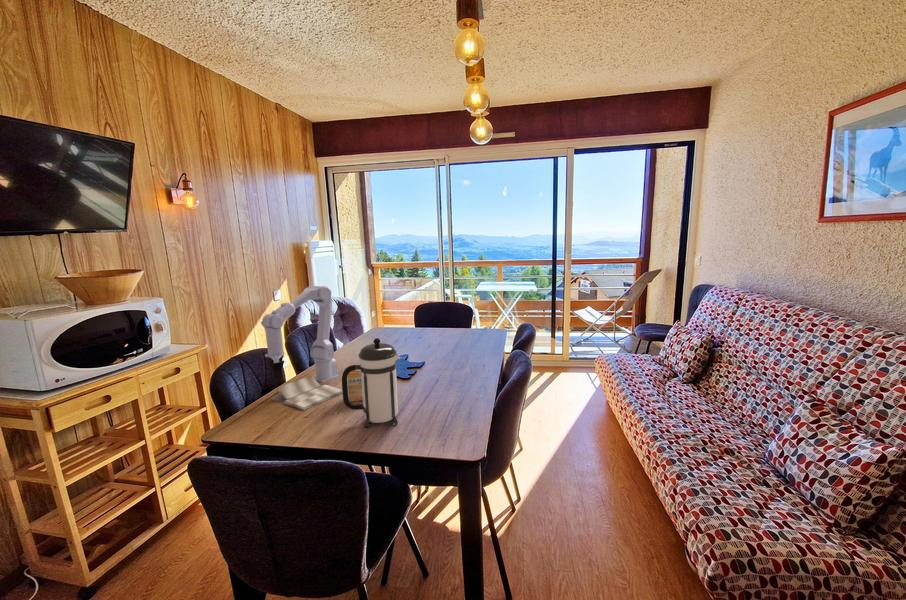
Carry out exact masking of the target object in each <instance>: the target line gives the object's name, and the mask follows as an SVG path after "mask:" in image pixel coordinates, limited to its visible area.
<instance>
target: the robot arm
mask: <svg viewBox="0 0 906 600" xmlns="http://www.w3.org/2000/svg"><path fill="white" fill-rule="evenodd" d="M309 300H310V301H313V302H314V303H316V304H317V305H318V306H319V307H318V310H319V311H318V319H317V320H318V321H317V332H316V339H315V340H314V342H313V343H312V346H311V349H310V352H309V353H310V356H311V358H312V359H313V361H314V369H315V370H314V371H315V377H313V378H314V379H315V380H316V381H317V382H321V383H324V382H327V381H329V380H332V379H334V378H337V377H339V376H340V375H339V373H338V363H337V360H336V359H335V358H334V356H335V351H334V344H333V343H332V342H331V341H330V333H331V320H332V311H333V310H332V309H333V308H332V307H333V301H332V290H331V289H330V288H329V287H328V286H327V285H308V286H307V287H305V288H304V289H303V291H302V292H301V293H300V294H299V295H297V296H296V297H295V298H294V299H293V300H292V301H290V302H283V303H281V304H280V305H279V307H277V308H276V309H275V310H271V313H267V314H265V315H264V316H263V317H262V319H261V321H260V324H261V326H262V327H263V328H264V331H265V337H266V338H265V339H266V345H267V348H266V349H267V353H265V354H264V357H265V358H269V360H270V361H268V365H269V367H270V368H271V370H272V371H273V375H274V378H275V379H281V378H282V374H283V366H284V364H285V360H284V357H285V352H284V345H283V344H284V343H283V342H284V341H283V335H282V333H283V332H282V327H283V326H284V323H285V322H286V320H288V319H289V318H290V317H292V316H293V315H294V314H295V313H296V309H298V308H299V307H300V306H302V305H304V304H305V303H307V302H308V301H309Z"/></svg>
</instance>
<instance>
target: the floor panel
mask: <svg viewBox="0 0 906 600" xmlns="http://www.w3.org/2000/svg"><path fill="white" fill-rule="evenodd" d="M319 385H320V384H319ZM341 395H343V392H342V388H338V387H335V386H332V385H327V384H323V385H322V384H321V385H320V387H318V388H315V389H313V390H310V391H308V392H305V393H303V394H300V395H298V396H295V397H293V398H290V399H288V400H285V399H284V398H283V396H282V395H281V394H279V395H277V396H274V397H272V398H270V400H271V401H275V402H278V403H281V404H283V405H285V406H288V407H292V408H293V409H297V410H299V411H301V412H305V411H307V410H309V409H310V410H311V409H312V408H314V407H315V406H318V405H320V404H323V403H325V402H328V401H329V400H332V399H333V398H336V397H338V396H341Z"/></svg>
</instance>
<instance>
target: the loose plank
mask: <svg viewBox="0 0 906 600" xmlns="http://www.w3.org/2000/svg"><path fill="white" fill-rule="evenodd" d="M314 378H315V377H313V376H312V375H308V376H306V377H304V378H300V379H297V380H294V381H292V382H290V383H287V384H284V385H281V386H278V387H277V390H276V391H277V392H278V393H279V395H282V396H283V398H284V399H285V400H288V399H290V398H293V397H295V396H298V395H300V394H303V393H305V392H308V391H310V390H313V389H315V388H318V387H320V383H319V381H317V380H315V379H314Z"/></svg>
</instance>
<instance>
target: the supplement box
mask: <svg viewBox="0 0 906 600" xmlns="http://www.w3.org/2000/svg"><path fill="white" fill-rule="evenodd" d="M347 385H348V398H349V401H350V402H351V403H352V402H358V401H363V396H362V380H361V371H360V369H359V370H354V371H351V372H349V374H348V375H347Z"/></svg>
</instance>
